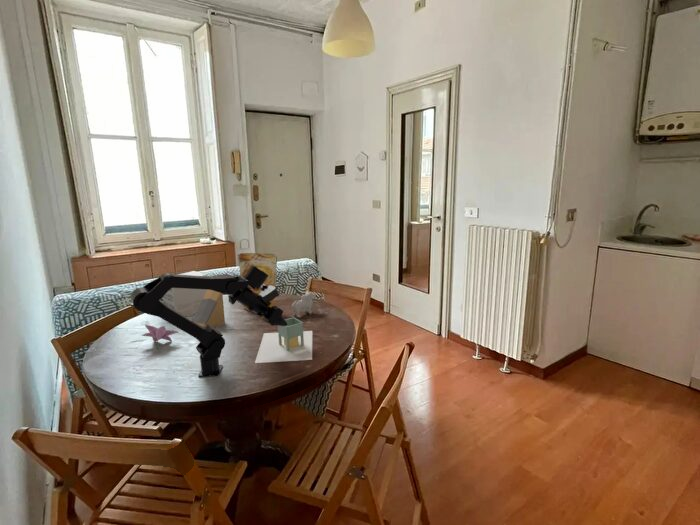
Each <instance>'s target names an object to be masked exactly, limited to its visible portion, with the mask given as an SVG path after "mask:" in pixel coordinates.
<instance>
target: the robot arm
mask: <svg viewBox="0 0 700 525" xmlns="http://www.w3.org/2000/svg"><path fill="white" fill-rule="evenodd" d="M178 274H179V273H178ZM178 274H176V273H175V274H174V273H169V272H165V273H163V274H162V275H160V276H159V277H158V278H156V279H153V280H152V281H150V282H148V283H146V284H145V285H143V286H142V287H138V288H136V289H134V290H133V291H132V292H131V293H130V297H129V298H130V301H131V303H132V306H133V308H134V309H135V310H137V311H138V312H141V313H143V314H147V315H148V316H149V315H150V316H153V317H158V318H160V319H161V320H163V321H166V322H167V323H168V324H170V325H172V326H174V327H176V328H178V329H179V330H181V331H182V332H183V333H186V334H187V335H189V336H191V337H193V338H195V339H196V340H197V341H199V343H198V344H197V346H196V347H195V348H196V351H197V352H198V353H199V354H200V355H199V361H200V362H199V363H200V369H201V370H200V371H199V372H198V374H197V376H198V378H203V377H217V376H220V373H221V371H222V369H223V367H224V366H223V364H220V360H219V358H220V357H221V354H222V350H223V349H224V348H225V346H226V340H225V338H224V337H223V335H224V334H222V333H221V331H219V330H218V329H217V328H216V327H215V328H212V327H211V326H210V325H209V324H207V326H206V327H202V326H200V325H198V324H196V323H195V322H193V321H192V319H190V318H189V317H188V316H186V317H185V316H183V315H182V314H180V313H178V312H177V311H175V310H173V309H172V308H170V307H168V306H167V305H165V304H164V302H163V301H162V300H161V299H163V296H164V295H165V294H166V293H167V292H168V291H169V290H170V289H171V288H187V289H206V290H213V291H217V292H220V293H222V294H224V295H227V297H228V303H230V305H235V303H236V302H238V303H240V304H241V305H243V307H244V306H245V307H247V308H248V309H249V310H250V311H249V310H248V311H249V312H252V313H253V314H255V315H257V316H259V318H260V317H263V318H264V322H266V323H268V324H269V325H270V326H272V327H273V326H278V325H279V326H286V325H287V322H286V321H285V318H284V317H283V314H284V310H283V309H281V308H280V307H278V306H277V305H274V306H272V307H269V306H270V304H271V302H269V301H272V300H273V299H274V300H275V298H277V297H280V292H279V291H278V290H277V287H276V286H275V287H274V286H272V285H271V286H270V285H268V287H267V286H266V285H262V284H263V283H264V282H265V280H266V279H267V278H268V275H267V274H266V273H265V272H263V271H261V270H260V269H258V268H257V267H255V266H253V265H252V266H251V268H250V269H249V271H248V272H247V274H246V275H245V276H244V277H241V276H240V275H239V276H237V275H236V276H235V275H234V276H233V275H231V274H228V273H225V274H223V273H222V274H216V275H211V276H207V277H205V276H192V275H178ZM247 286H250V287H251V288H253V289H254V290H255V289H259V288H260V287H261V291H260V292H261V293H260V294H257V293H255V292H253V291H252V290H251V289H249V288H248V287H247Z"/></svg>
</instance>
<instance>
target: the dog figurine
mask: <svg viewBox="0 0 700 525" xmlns="http://www.w3.org/2000/svg"><path fill="white" fill-rule="evenodd" d="M316 295H317V294H316V293H314V292H313V291H310V290H307V291H306V292H305V293H304V294H303V295H301V296H300V298H301V299H300V300H294V302H293V303H292V304H291V310H292V315H293V316H297V318H298V317H299V318H301V315H300V312H301V310H303V312H304V311H307V312H308V314H309V313H312V306H313V300H314V299H316V297H317V296H316Z"/></svg>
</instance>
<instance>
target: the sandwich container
mask: <svg viewBox="0 0 700 525" xmlns="http://www.w3.org/2000/svg"><path fill="white" fill-rule="evenodd" d="M223 297H224V296H223V293H220V292H217V291H213V290H207V291H206V293H205V295H204V298H203V300H202V302H201V304H200V306H199V308H198V309H197V311H196V313H195V314H193V315H194V316H193V318H192V319H191V321H193V322H195V323H196V324H198V325H200V326H202V327H206V326H207V324H209V325H210V326H211V327H212V328H215V329H216V328H217V327H219V326H221V325H223V324H224V323H225V322H226V321H225V319H226V318H225V310H224V309H225V307H224V298H223ZM220 324H221V325H220Z"/></svg>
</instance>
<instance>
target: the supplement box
mask: <svg viewBox="0 0 700 525" xmlns="http://www.w3.org/2000/svg"><path fill="white" fill-rule="evenodd" d="M178 275H192V276H205V277H208V276H207V274H206V273H202V272H199V271H195V270H192V271H187V272H183V273H178ZM206 291H207V290H206V289H187V288H171V289H170V290H169V291H168V292H167V293H166V294H165V295H164V296H163V297H162V300H163V301H162V302H163V303H164V304H165V305H167V306H168V307H170V308H172V309H173V310H175V311H177V312H178V313H180V314H182V315H183V316H185V317H190V316H193V315H195V313H196V311H197V309H198V308H199V306H200V304H201V302H202V300H203V298H204V295H205V293H206Z"/></svg>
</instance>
